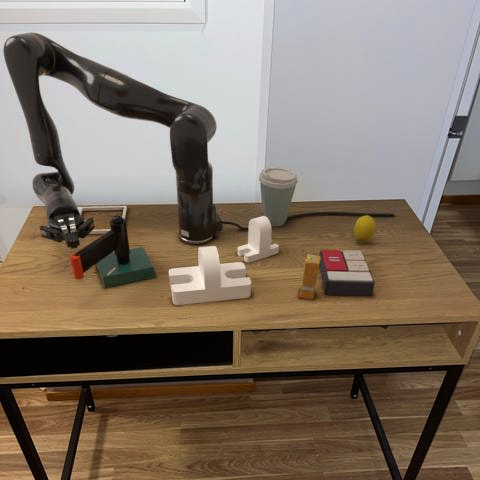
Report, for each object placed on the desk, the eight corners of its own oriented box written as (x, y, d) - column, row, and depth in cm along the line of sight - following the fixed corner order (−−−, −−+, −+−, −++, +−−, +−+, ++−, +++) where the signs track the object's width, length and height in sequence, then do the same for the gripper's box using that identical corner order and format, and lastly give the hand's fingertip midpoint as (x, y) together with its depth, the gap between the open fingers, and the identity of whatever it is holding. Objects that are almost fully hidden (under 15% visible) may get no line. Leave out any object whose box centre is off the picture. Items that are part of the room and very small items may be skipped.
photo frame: (63, 206, 145) (126, 205, 146) (64, 210, 145) (126, 208, 147) (53, 231, 133) (121, 229, 135) (54, 234, 134) (122, 233, 136)
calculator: (363, 249, 125) (375, 280, 113) (360, 263, 128) (372, 295, 116) (319, 247, 125) (327, 278, 113) (317, 262, 128) (325, 294, 116)
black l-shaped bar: (121, 247, 120) (115, 210, 114) (133, 251, 119) (128, 214, 113) (71, 283, 108) (61, 243, 102) (83, 288, 107) (75, 248, 101)
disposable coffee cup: (274, 209, 149) (278, 160, 140) (301, 222, 143) (307, 172, 134) (248, 220, 143) (251, 170, 134) (275, 234, 137) (279, 183, 128)
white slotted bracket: (251, 297, 114) (253, 257, 108) (173, 305, 111) (170, 264, 105) (242, 274, 122) (244, 235, 115) (169, 281, 119) (165, 242, 112)
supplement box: (314, 300, 114) (319, 263, 108) (299, 298, 115) (304, 261, 108) (315, 292, 117) (321, 255, 110) (301, 290, 117) (305, 253, 111)
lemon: (349, 244, 134) (354, 217, 129) (354, 235, 138) (359, 209, 133) (370, 249, 133) (376, 222, 128) (374, 239, 137) (379, 213, 132)
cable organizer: (279, 252, 130) (282, 218, 124) (247, 263, 126) (248, 227, 119) (267, 243, 133) (270, 209, 127) (236, 253, 129) (237, 218, 123)
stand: (143, 256, 127) (141, 239, 124) (154, 277, 120) (152, 259, 117) (96, 266, 123) (93, 248, 120) (104, 287, 116) (101, 269, 113)
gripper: (30, 201, 119) (39, 235, 107) (86, 193, 123) (101, 224, 111) (38, 229, 124) (46, 265, 112) (91, 220, 128) (105, 253, 116)
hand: (73, 244), depth 111 cm, fingers closed
